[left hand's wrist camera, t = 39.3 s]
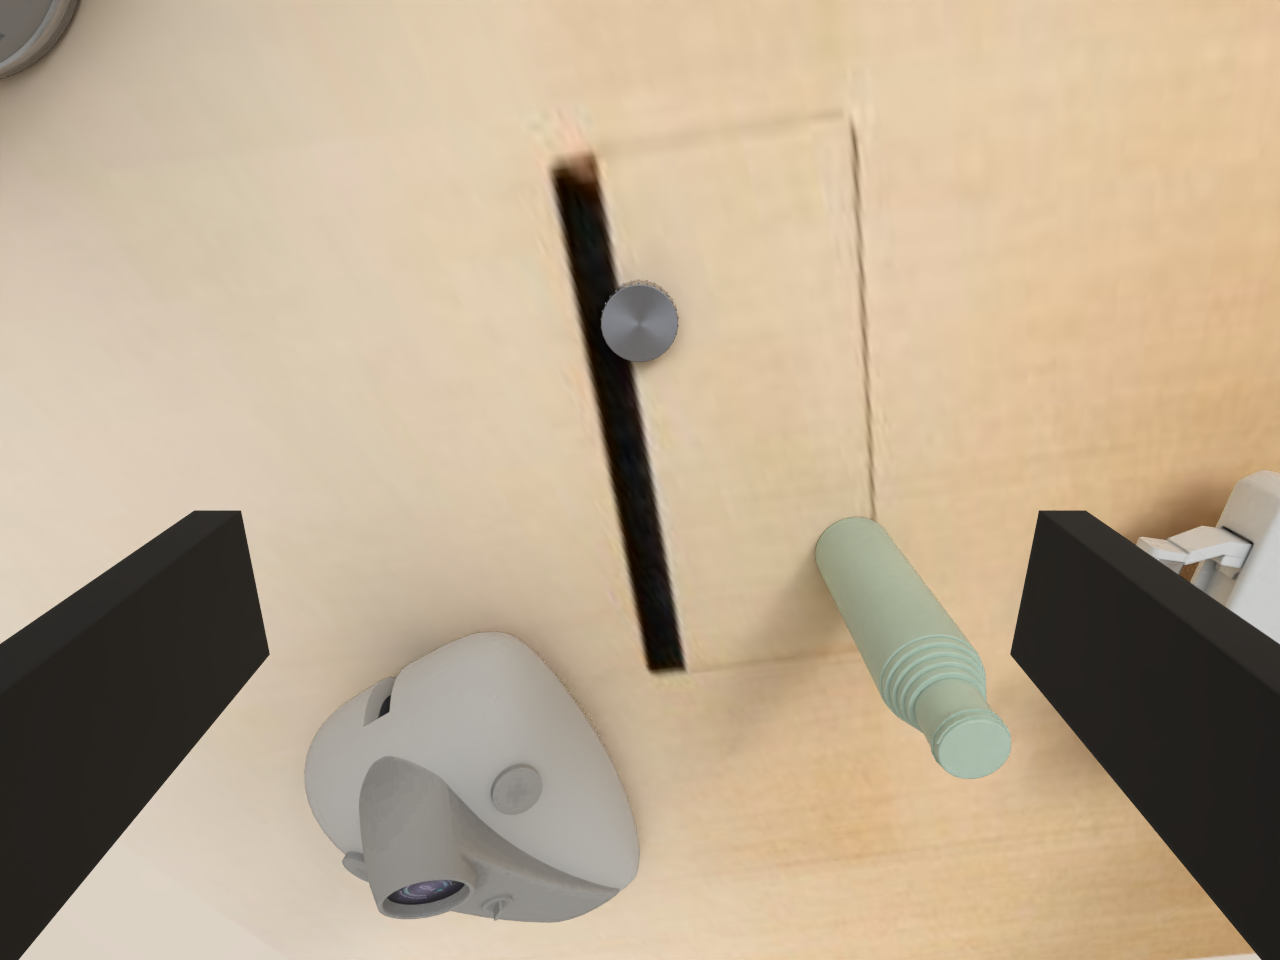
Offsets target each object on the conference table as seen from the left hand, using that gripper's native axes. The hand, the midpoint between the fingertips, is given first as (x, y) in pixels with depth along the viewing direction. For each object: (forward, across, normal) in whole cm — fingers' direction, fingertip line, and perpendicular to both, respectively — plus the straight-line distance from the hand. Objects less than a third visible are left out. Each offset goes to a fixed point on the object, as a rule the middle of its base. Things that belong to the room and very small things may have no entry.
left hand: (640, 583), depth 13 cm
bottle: (+31, +13, -14) cm, 37 cm away
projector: (+31, -9, -31) cm, 45 cm away
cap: (+29, 0, 0) cm, 29 cm away
